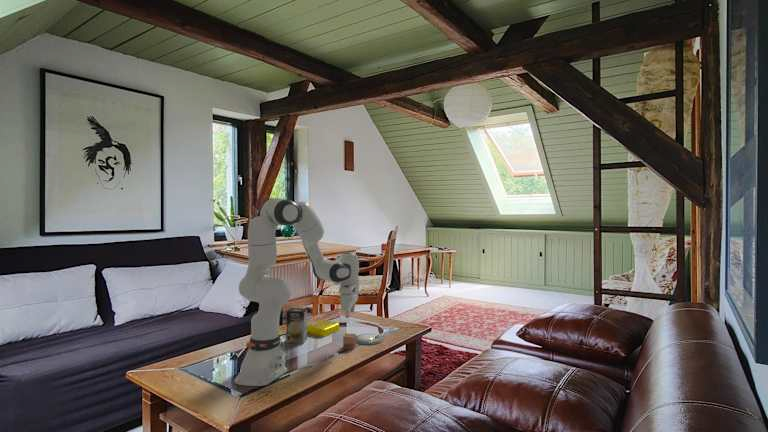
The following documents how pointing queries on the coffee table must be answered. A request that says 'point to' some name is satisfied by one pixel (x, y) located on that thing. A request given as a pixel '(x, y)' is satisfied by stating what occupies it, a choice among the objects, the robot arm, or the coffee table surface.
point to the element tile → (322, 327)
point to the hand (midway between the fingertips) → (350, 314)
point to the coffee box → (296, 325)
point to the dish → (367, 339)
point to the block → (349, 341)
